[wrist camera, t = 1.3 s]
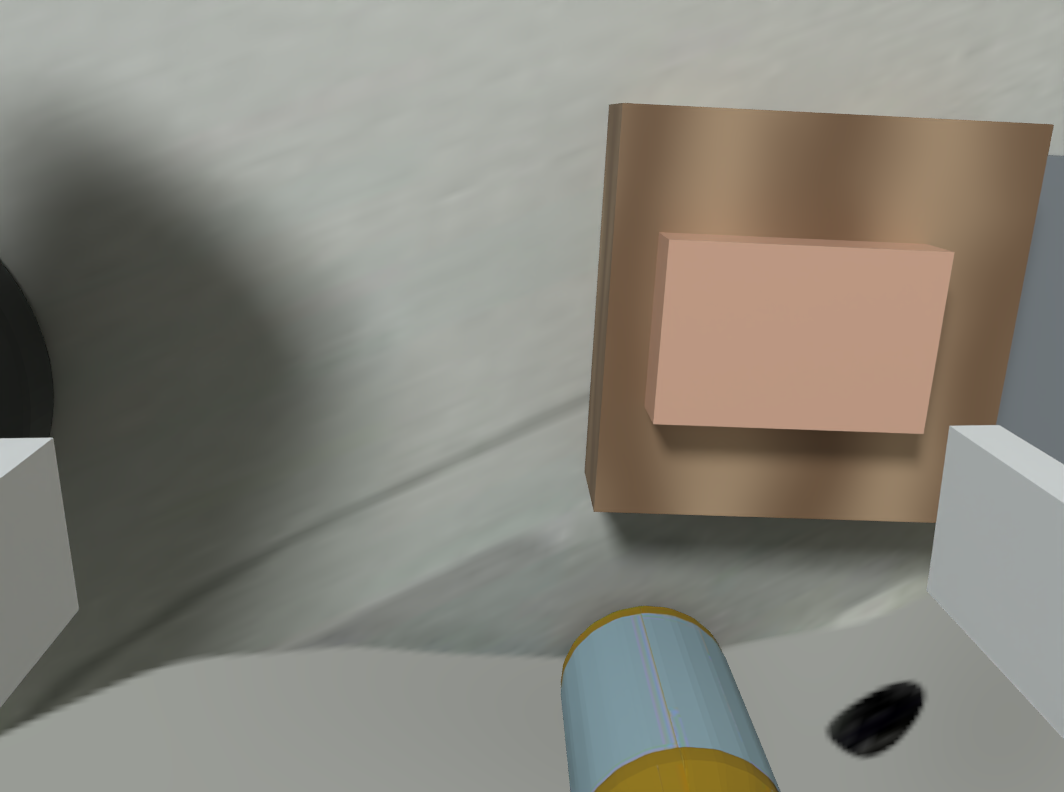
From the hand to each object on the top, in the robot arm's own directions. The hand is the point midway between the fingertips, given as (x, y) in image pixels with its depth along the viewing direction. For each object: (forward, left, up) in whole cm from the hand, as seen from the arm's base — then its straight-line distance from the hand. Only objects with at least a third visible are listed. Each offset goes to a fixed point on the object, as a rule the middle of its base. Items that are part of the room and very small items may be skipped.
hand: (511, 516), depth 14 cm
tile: (+9, -1, -18) cm, 21 cm away
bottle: (+6, -17, -23) cm, 29 cm away
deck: (+10, -1, -22) cm, 25 cm away
